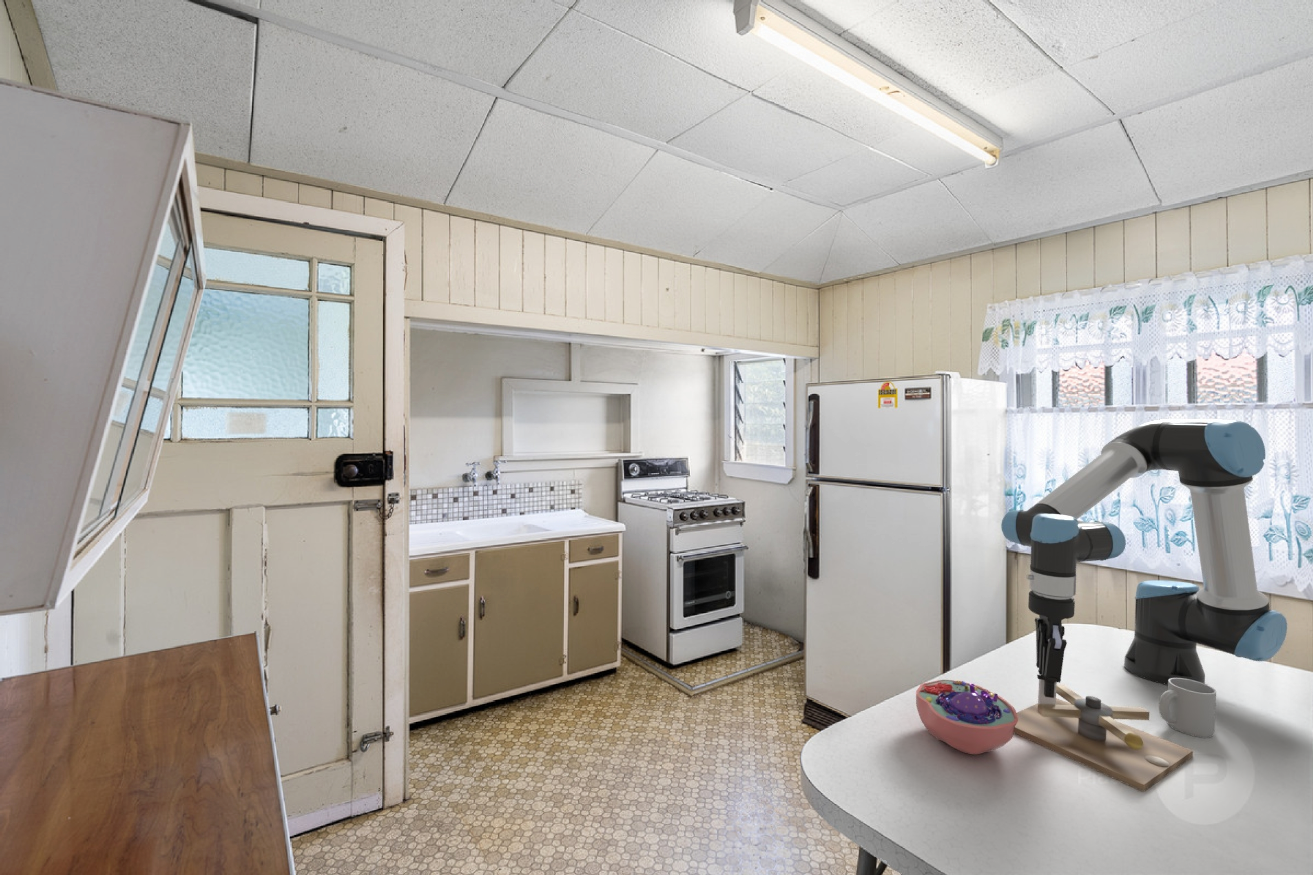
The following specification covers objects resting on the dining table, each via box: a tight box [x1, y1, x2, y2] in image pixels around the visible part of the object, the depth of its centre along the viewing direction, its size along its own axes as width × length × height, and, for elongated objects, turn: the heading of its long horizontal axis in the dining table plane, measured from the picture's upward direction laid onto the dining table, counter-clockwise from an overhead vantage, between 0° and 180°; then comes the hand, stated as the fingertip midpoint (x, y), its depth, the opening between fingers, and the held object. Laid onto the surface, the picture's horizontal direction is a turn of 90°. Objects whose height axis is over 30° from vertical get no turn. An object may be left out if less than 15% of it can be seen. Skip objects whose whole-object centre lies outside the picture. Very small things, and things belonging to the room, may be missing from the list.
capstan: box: [1038, 684, 1150, 749], centre depth 113 cm, size 22×20×4 cm
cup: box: [1158, 678, 1217, 739], centre depth 119 cm, size 7×10×9 cm
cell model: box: [915, 679, 1018, 755], centre depth 112 cm, size 17×20×11 cm
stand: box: [1013, 697, 1194, 792], centre depth 114 cm, size 21×24×4 cm
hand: (1046, 709), depth 116 cm, fingers closed
